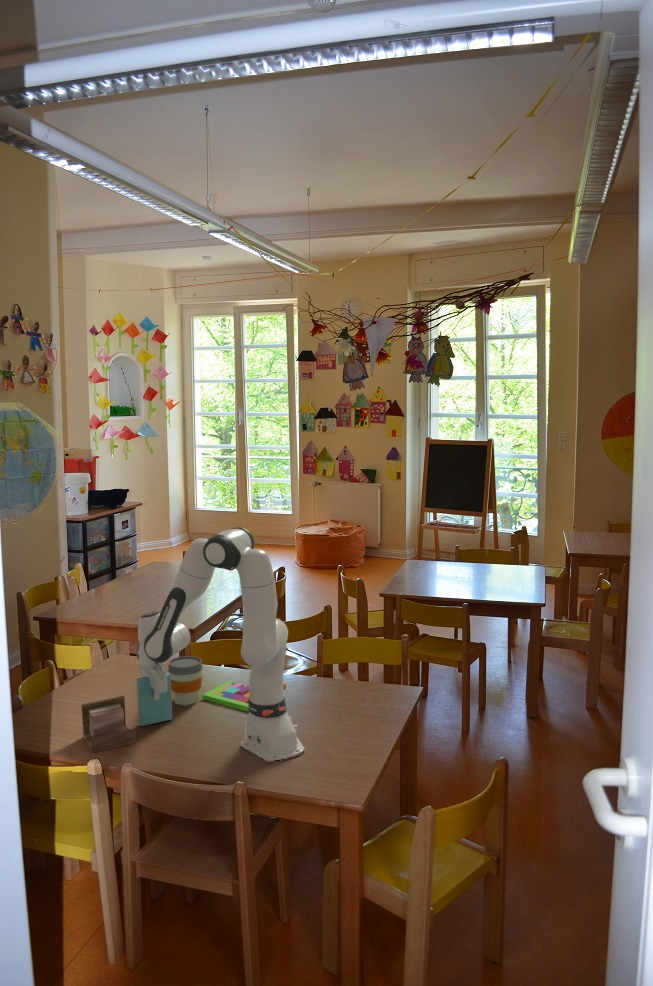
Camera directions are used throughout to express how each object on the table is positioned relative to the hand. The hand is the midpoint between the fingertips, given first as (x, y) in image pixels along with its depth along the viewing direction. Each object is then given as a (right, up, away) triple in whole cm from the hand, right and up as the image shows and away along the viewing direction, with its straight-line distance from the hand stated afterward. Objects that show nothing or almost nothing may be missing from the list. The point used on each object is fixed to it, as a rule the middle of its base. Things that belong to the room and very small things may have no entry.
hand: (154, 696), depth 267 cm
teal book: (0, -9, +1) cm, 9 cm away
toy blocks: (+29, -6, +26) cm, 40 cm away
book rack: (-13, -11, -11) cm, 20 cm away
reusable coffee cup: (+7, -7, +20) cm, 23 cm away
